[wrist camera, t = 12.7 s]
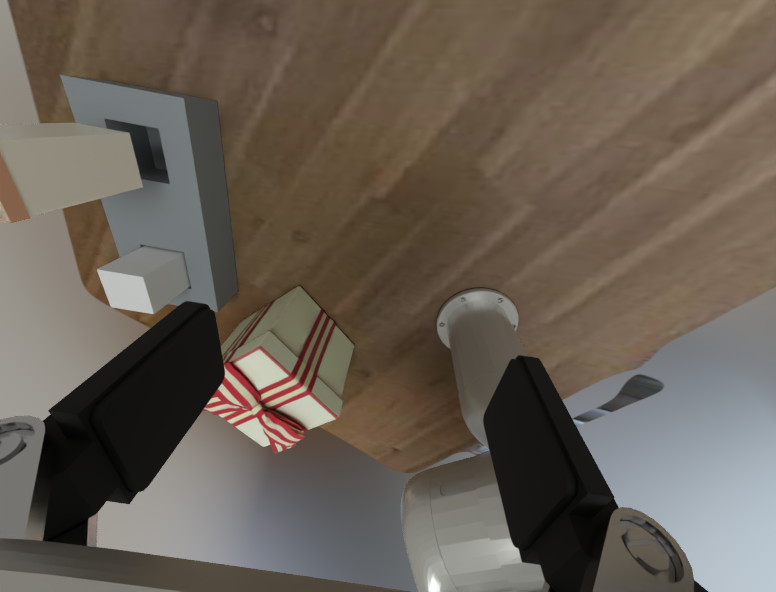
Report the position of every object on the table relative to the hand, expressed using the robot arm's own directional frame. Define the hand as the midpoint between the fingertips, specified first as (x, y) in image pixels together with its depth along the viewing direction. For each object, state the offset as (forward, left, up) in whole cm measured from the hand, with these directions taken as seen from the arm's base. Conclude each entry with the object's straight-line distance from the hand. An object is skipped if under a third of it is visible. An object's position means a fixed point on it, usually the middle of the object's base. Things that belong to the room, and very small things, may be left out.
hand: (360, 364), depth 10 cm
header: (+12, +27, -33) cm, 44 cm away
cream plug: (+17, +22, -24) cm, 37 cm away
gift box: (-14, +29, -33) cm, 46 cm away
